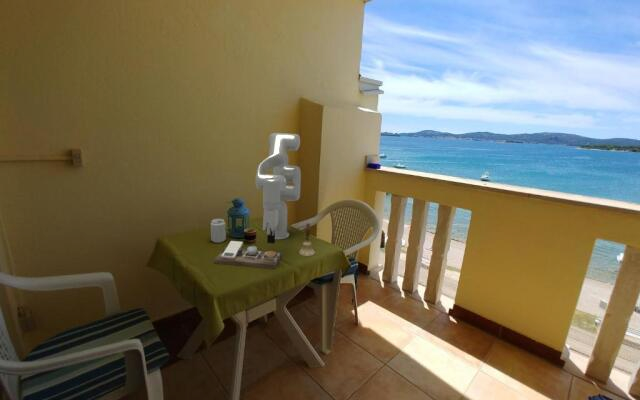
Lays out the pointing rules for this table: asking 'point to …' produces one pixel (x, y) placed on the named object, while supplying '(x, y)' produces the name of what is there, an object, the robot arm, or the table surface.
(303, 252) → the hand bell
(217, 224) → the can
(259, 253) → the panel
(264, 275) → the table surface
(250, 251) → the grey button
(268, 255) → the orange button
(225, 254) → the rocker
